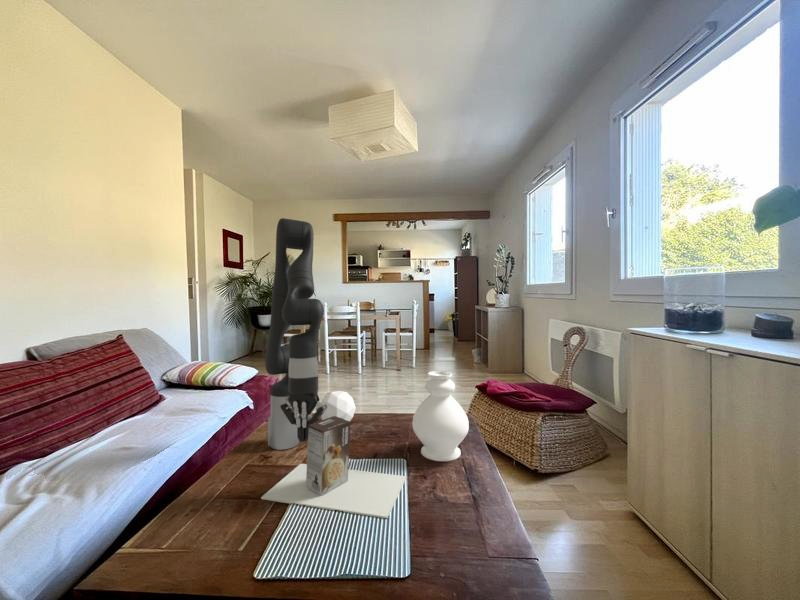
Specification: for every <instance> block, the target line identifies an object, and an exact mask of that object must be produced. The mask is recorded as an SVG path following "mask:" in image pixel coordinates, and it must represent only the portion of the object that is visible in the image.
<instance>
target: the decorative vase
mask: <svg viewBox="0 0 800 600" xmlns="http://www.w3.org/2000/svg"><path fill="white" fill-rule="evenodd" d="M452 376H453V373H452V372H451V371H446V370H444V371H443V370H435V371H429V372H428V373H427V377H429V379H428V380H427V381H426V382H425V384H424V388H425V390H426V391H427V392H428V393H429V395H428V396H427V397H426V398H425V399H424V400H423V401H421V403H420V404H419V405H418V406H417V408H416V410H415V412H414V413H413V418H412V425H411V426H412V430H413V432H414V434H415V436H416V437H417V438H418V440H419V441H420V442H421V443H422V444H423V446H422V447H421V448H420V454H421V455H422V456H423V457H424V458H426V459H428V460H431V461H435V462H450V461H454V460H457V459H458V458H460V457H461V455H462V452H461V451H462V450H461V449H460V448H459V447H458V446H459V445H460V444H461V443H462V441H464V439H465V438H466V436H467V435H468V433H469V430H470V429H469V428H470V425H469V424H470V422H469V418H468V415H467V413H466V412H465V411H466V410H464V409H463V407H462V406H461V404H460V403H459V402H458V401H457V400H456V399H455V398H454V397H453V396H452V395H451V394H452V393H453V392H455V390H456V384H455V383H454V381H453V380H452V379H450V378H452Z"/></svg>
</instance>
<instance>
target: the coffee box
mask: <svg viewBox="0 0 800 600" xmlns="http://www.w3.org/2000/svg"><path fill="white" fill-rule="evenodd" d="M350 439H351V421H347V420H344V419H342V418H339V417H336V416H333V417H330V418H327V419H324V420H322V419H321V420H318V421H317V422H316V423H313V424H310V425H308V440H307V446H306V447H307V449H306V451H307V452H306V453H307V454H306V464H307V471H306V487H308V488H310V489H311V490H313V491H314V492H316V493H317V494H319V495H321V496H322V495H324V494H326V493H327V492H329V491H331V490H333V489H334V488H336V487H338V486H340V485H341V484H343V483H345V482H346V481H348V469H349V463H350V441H351V440H350Z"/></svg>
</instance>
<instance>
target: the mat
mask: <svg viewBox="0 0 800 600" xmlns="http://www.w3.org/2000/svg"><path fill="white" fill-rule="evenodd" d="M306 471H307V463H300V464H298V465H297V466H296V467H295V468H294V469H292V470H291V471H290V472H289V473H287V475H285V476H284V477H283V478H282V479H281V480H280V481H279V482H277V483H276V484H275V485H274V486H273V487H272V488H270V489H269V490H268V491H267V492H266V493H264V494H263V495H262V496H261V497H260V499H261V500H262V501H264V500H266V501H272V502H278V503H282V504H284V503H285V504H290V505H292V504H291V503H295V504H294V505H296V504H298V505H297V506H302V505H306V506H305V507H309V506H311V507H310V508H315V507H317V508H316V509H323V510H329V511H335V510H339V511H338V512H341V511H343V513H347V514H348V513H350V514H355V515H361V516H368V517H374V518H381V519H386V518H388V519H389V517H390V514H391V512H392V510H393V508H394V506H395V503H396V502H397V499H398V497H399V495H400V493H401V490H402V488H403V486H404V484H405V482H406V479H407V476H406V475H398V474H389V473H381V472H373V471H367V470H366V471H364V470H359V469H358V470H356V469H349V468H348V481H346V482H345V483H343V484H341V485H340V486H338V487H336V488H334V489H333V490H331V491H329V492H327V493H326V494H324V495H322V496H321V495H319V494H317V493H316V492H314V491H313V490H311V489H310V488H308V487H306ZM388 516H389V517H388Z"/></svg>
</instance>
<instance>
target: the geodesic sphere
mask: <svg viewBox="0 0 800 600" xmlns="http://www.w3.org/2000/svg"><path fill="white" fill-rule="evenodd" d="M320 403H322V404H323V405H326V406H327V409H326V410H325V411H324V413H323V414H322V415H321V417H320V418H321V420H324V419H327V418H330V417H333V416H336V417H339V418H342V419H344V420H347V421H350V422H351V421H352V420H353V417H354V415H355V412H356V409H357V406H356V405H355V402H354V398H353V397H352V396H351V395H350V394H349V393H348V392H347V391H344V390H340V389H334V390H333V391H330V392H326V393H325V394H324V397H323V398H322V399H321V401H320Z"/></svg>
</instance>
